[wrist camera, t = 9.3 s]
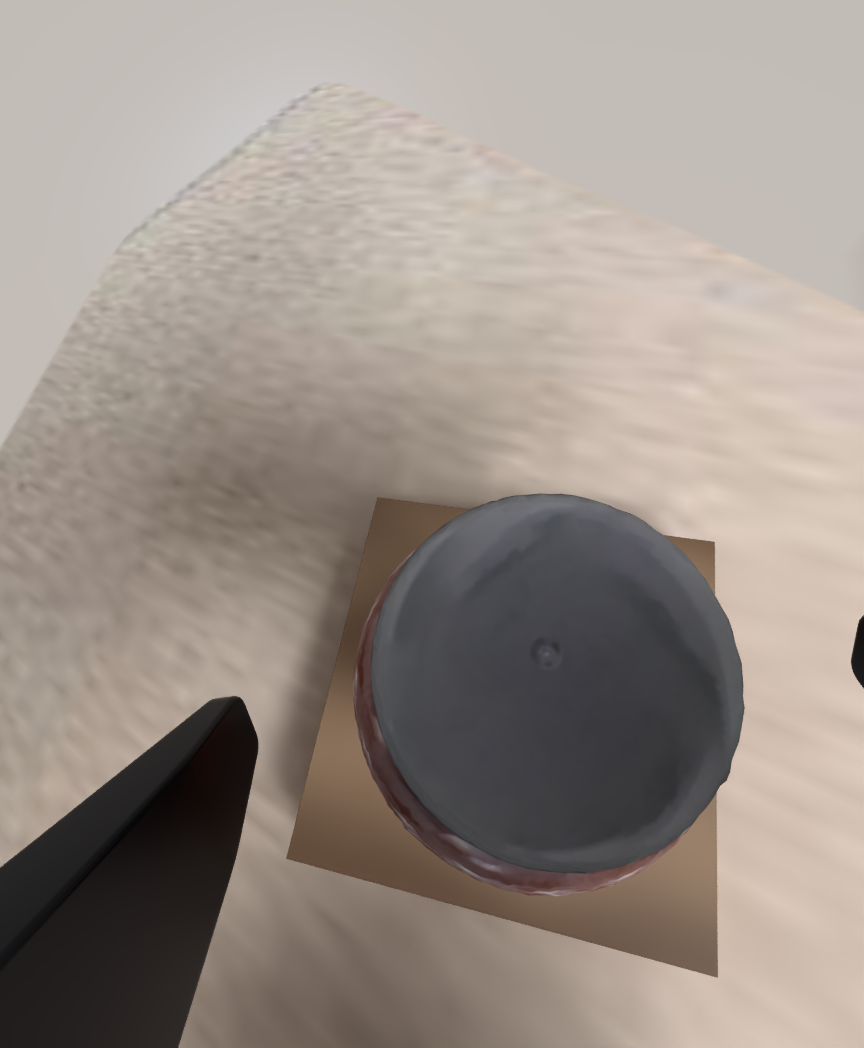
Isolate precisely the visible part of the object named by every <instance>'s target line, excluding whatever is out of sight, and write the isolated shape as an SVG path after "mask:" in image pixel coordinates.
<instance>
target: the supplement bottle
mask: <svg viewBox="0 0 864 1048" xmlns="http://www.w3.org/2000/svg"><path fill="white" fill-rule="evenodd" d="M353 700H354V712H355V719H356V722H357V727H358V734H359V739H360V741H361V746H362V751H363V754H364V757H365V759H366V762H367V766H368V767H369V769H370V772H371V775H372V778H373V780H374V781H375V782H376V784H377V786H378V787H379V789H380V792H381V793H382V795H383V797H384V798H385V800H386V802H387V805H388V807H389V808H390V809H391V810H392V811H393V812H394V814H395V815H396V816H397V817H398V818H399V819H400V821H401V822H402V824H403V826H404V828H405V829H406V830H407V831H408V832H409V833H411V834H412V835H413V836H414V837H415V838H416V839H418V840H419V841H420V842H421V843H422V844H423V845H424V846H425V847H426V848H427V849H429V850H430V851H432V852H433V853H434V854H435V855H437V856H438V857H439V858H440V859H442V860H443V861H445V862H446V863H447V864H449V865H450V866H452V867H454V868H456V869H457V870H459V871H461V872H463V873H465V874H467V875H469V876H470V877H472V878H474V879H476V880H478V881H480V882H483V883H487V884H490V885H492V886H494V887H497V888H499V889H503V890H506V891H510V892H519V893H522V894H526V895H529V896H531V895H539V896H543V895H548V896H563V895H568V894H572V893H583V892H589V891H594V890H597V889H601V888H604V887H608V886H614V885H615V884H617V883H618V882H619V881H621V880H623V879H626V878H630V877H633V876H635V875H636V874H638V873H640V872H641V871H643V870H644V869H645V868H647V867H648V866H649V865H650V864H652V863H653V862H654V861H656V860H657V859H658V858H660V857H661V856H663V855H664V854H665V853H666V852H667V851H668V850H670V849H671V848H672V847H673V846H674V845H676V844H677V842H678V841H679V840H680V838H681V837H682V836H683V835H684V834H685V833H687V832H688V830H689V829H690V827H691V826H692V825H693V823H694V822H695V821H696V819H697V818H698V817H699V816H700V814H701V813H702V812H703V811H704V810H705V809H706V807H707V806H708V805H709V803H710V802H711V801H712V799H713V798H714V796H715V794H716V792H717V790H718V789H719V787H720V785H722V784H723V783H724V782H725V781H726V780H727V778H728V775H729V773H730V769H731V761H732V758H733V755H734V753H735V750H736V748H737V745H738V743H739V738H740V732H741V727H742V721H743V715H744V709H745V708H744V701H743V676H742V663H741V660H740V657H739V654H738V650H737V647H736V644H735V640H734V636H733V631H732V628H731V625H730V622H729V619H728V618H727V616H726V614H725V612H724V611H723V609H722V607H721V605H720V604H719V602H718V600H717V598H716V597H715V595H714V593H713V591H712V589H711V587H710V586H709V584H708V582H707V580H706V579H705V578H704V577H703V575H702V574H701V573H700V572H699V571H698V569H697V568H696V566H695V565H694V564H693V563H692V562H691V560H690V559H689V558H688V557H687V555H686V554H685V553H683V552H682V551H681V550H680V549H678V548H677V547H676V546H675V545H674V544H673V543H672V542H671V541H670V540H669V539H668V538H667V537H665V536H664V535H662V534H661V533H659V532H657V531H656V530H654V529H653V528H652V527H651V526H649V525H648V524H647V523H646V522H644V521H643V520H641V519H639V518H637V517H636V516H634V515H632V514H630V513H626V512H623V511H620V510H617V509H615V508H613V507H611V506H609V505H606V504H603V503H600V502H597V501H594V500H590V499H587V498H583V497H578V496H573V495H565V494H532V495H518V496H511V497H506V498H502V499H500V500H498V501H491V502H489V503H486V504H483V505H481V506H478V507H476V508H473V509H470V510H468V511H467V512H465V513H463V514H461V515H459V516H457V517H455V518H454V519H452V520H450V521H449V522H447V523H446V524H444V525H443V526H441V527H440V528H439V529H438V530H437V531H435V532H434V533H433V534H432V535H431V536H429V537H428V538H427V539H426V540H425V541H424V542H423V543H422V544H421V545H420V546H419V547H417V548H416V549H415V550H414V551H413V552H412V553H411V554H409V555H408V556H407V557H406V558H405V559H404V560H403V562H402V563H401V564H400V565H399V566H398V567H397V568H396V569H395V570H394V572H393V573H392V574H391V575H390V577H389V578H388V580H387V581H386V583H385V584H384V585H383V587H382V589H381V591H380V592H379V594H378V596H377V598H376V599H375V601H374V603H373V605H372V608H371V610H370V613H369V614H368V617H367V620H366V622H365V624H364V626H363V630H362V633H361V637H360V641H359V645H358V650H357V655H356V660H355V668H354V680H353Z"/></svg>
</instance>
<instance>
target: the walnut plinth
mask: <svg viewBox="0 0 864 1048" xmlns="http://www.w3.org/2000/svg"><path fill="white" fill-rule="evenodd" d="M467 511H468V509H461V508H453V507H446V506H438V505H430V504H423V503H415V502H408V501H400V500H392V499H385V498H377V502H376V506H375V510H374V514H373V517H372V521H371V525H370V529H369V533H368V537H367V541H366V545H365V549H364V553H363V557H362V561H361V565H360V569H359V573H358V577H357V581H356V585H355V589H354V593H353V597H352V601H351V605H350V609H349V613H348V617H347V621H346V624H345V628H344V632H343V636H342V640H341V644H340V648H339V652H338V656H337V660H336V664H335V668H334V672H333V676H332V680H331V684H330V688H329V692H328V696H327V700H326V704H325V708H324V712H323V716H322V720H321V724H320V728H319V731H318V735H317V739H316V743H315V747H314V751H313V755H312V759H311V763H310V767H309V771H308V775H307V779H306V783H305V787H304V791H303V795H302V799H301V803H300V807H299V811H298V815H297V819H296V823H295V827H294V831H293V835H292V838H291V842H290V846H289V850H288V854H287V858H286V859H290V860H294V861H297V862H301V863H304V864H308V865H312V866H315V867H319V868H323V869H326V870H330V871H333V872H337V873H341V874H344V875H348V876H352V877H355V878H359V879H362V880H366V881H370V882H373V883H377V884H381V885H384V886H388V887H391V888H395V889H399V890H402V891H406V892H410V893H413V894H417V895H420V896H424V897H428V898H431V899H435V900H438V901H442V902H446V903H449V904H453V905H457V906H460V907H464V908H467V909H471V910H475V911H478V912H482V913H486V914H489V915H493V916H496V917H500V918H504V919H507V920H511V921H515V922H518V923H522V924H525V925H529V926H533V927H536V928H540V929H544V930H547V931H551V932H554V933H558V934H562V935H565V936H569V937H572V938H576V939H580V940H583V941H587V942H591V943H594V944H598V945H601V946H605V947H609V948H612V949H616V950H620V951H623V952H627V953H630V954H634V955H638V956H641V957H645V958H649V959H652V960H656V961H659V962H663V963H667V964H670V965H674V966H678V967H681V968H685V969H688V970H692V971H696V972H699V973H703V974H706V975H710V976H714V977H717V978H718V960H717V815H716V794H715V796H714V798H713V799H712V801H711V802H710V803H709V805H708V806H707V807H706V809H705V810H704V811H703V812H702V813H701V814H700V816H699V817H698V818H697V819H696V821H695V822H694V823H693V825H692V826H691V827H690V829H689V830H688V832H687V833H685V834H684V835H683V836H682V837H681V838H680V840H679V841H678V842H677V844H676V845H674V846H673V847H672V848H671V849H670V850H668V851H667V852H666V853H665V854H664V855H663V856H661V857H660V858H658V859H657V860H656V861H654V862H653V863H652V864H650V865H649V866H648V867H647V868H645V869H644V870H643V871H641V872H640V873H638V874H636V875H635V876H633V877H630V878H626V879H623V880H621V881H619V882H618V883H617V884H615V885H614V886H608V887H604V888H601V889H597V890H594V891H589V892H583V893H572V894H568V895H563V896H548V895H543V896H539V895H531V896H529V895H526V894H522V893H519V892H510V891H506V890H503V889H499V888H497V887H494V886H492V885H490V884H487V883H483V882H480V881H478V880H476V879H474V878H472V877H470V876H469V875H467V874H465V873H463V872H461V871H459V870H457V869H456V868H454V867H452V866H450V865H449V864H447V863H446V862H445V861H443V860H442V859H440V858H439V857H438V856H437V855H435V854H434V853H433V852H432V851H430V850H429V849H427V848H426V847H425V846H424V845H423V844H422V843H421V842H420V841H419V840H418V839H416V838H415V837H414V836H413V835H412V834H411V833H409V832H408V831H407V830H406V829H405V828H404V826H403V824H402V822H401V821H400V819H399V818H398V817H397V816H396V815H395V814H394V812H393V811H392V810H391V809H390V808H389V807H388V805H387V802H386V800H385V798H384V797H383V795H382V793H381V792H380V789H379V787H378V786H377V784H376V782H375V781H374V780H373V778H372V775H371V772H370V769H369V767H368V766H367V762H366V759H365V757H364V754H363V751H362V746H361V741H360V739H359V734H358V727H357V722H356V719H355V712H354V700H353V680H354V668H355V660H356V655H357V650H358V645H359V641H360V637H361V633H362V630H363V626H364V624H365V622H366V620H367V617H368V614H369V613H370V610H371V608H372V605H373V603H374V601H375V599H376V598H377V596H378V594H379V592H380V591H381V589H382V587H383V585H384V584H385V583H386V581H387V580H388V578H389V577H390V575H391V574H392V573H393V572H394V570H395V569H396V568H397V567H398V566H399V565H400V564H401V563H402V562H403V560H404V559H405V558H406V557H407V556H408V555H409V554H411V553H412V552H413V551H414V550H415V549H416V548H417V547H419V546H420V545H421V544H422V543H423V542H424V541H425V540H426V539H427V538H428V537H429V536H431V535H432V534H433V533H434V532H435V531H437V530H438V529H439V528H440V527H441V526H443V525H444V524H446V523H447V522H449V521H450V520H452V519H454V518H455V517H457V516H459V515H461V514H463V513H465V512H467ZM664 536H665V537H667V538H668V539H669V540H670V541H671V542H672V543H673V544H674V545H675V546H676V547H677V548H678V549H680V550H681V551H682V552H683V553H685V554H686V555H687V557H688V558H689V559H690V560H691V562H692V563H693V564H694V565H695V566H696V568H697V569H698V571H699V572H700V573H701V574H702V575H703V577H704V578H705V579H706V580H707V582H708V584H709V586H710V587H711V589H712V591H713V593H714V595H715V542H711V541H704V540H696V539H689V538H681V537H673V536H666V535H664Z"/></svg>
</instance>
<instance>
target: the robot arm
mask: <svg viewBox="0 0 864 1048" xmlns="http://www.w3.org/2000/svg"><path fill="white" fill-rule="evenodd" d="M851 666H852V670H853V673H854V675H855V677H856V678H857V680H858V681H859V683H860V684H861V685H862V687H863V688H864V615H863V616H862V618H861V619H860V620H859V623H858V627H857V632H856V637H855V642H854V647H853V652H852V658H851ZM257 755H258V737H257V734H256V731H255V729H254V726H253V724H252V721H251V719H250V716H249V714H248V711H247V708H246V706H245V704H244V702H243V700H242V699H241V698H240V697H237V696H231V697H223V698H216V699H212V700H210V701H209V702H207V703H206V704H205V705H204V706H202V707H201V708H200V709H199V710H197V711H196V712H195V713H194V714H192V715H191V716H190V717H189V718H187V719H186V720H185V721H184V722H182V723H181V724H180V725H179V726H177V727H176V728H175V729H174V730H172V731H171V732H170V733H169V734H167V735H166V736H165V737H164V738H162V739H161V740H160V741H158V742H157V743H156V744H155V745H153V746H152V747H151V748H150V749H148V750H147V751H146V752H145V753H143V754H142V755H141V756H140V757H138V758H137V759H136V760H135V761H133V762H132V763H131V764H130V765H128V766H127V767H126V768H125V769H123V770H122V771H121V772H120V773H118V774H117V775H116V776H115V777H113V778H112V779H111V780H110V781H108V782H107V783H106V784H105V785H103V786H102V787H101V788H100V789H98V790H97V791H96V792H95V793H93V794H92V795H91V796H89V797H88V798H87V799H86V800H84V801H83V802H82V803H81V804H79V805H78V806H77V807H76V808H74V809H73V810H72V811H71V812H69V813H68V814H67V815H66V816H64V817H63V818H62V819H61V820H59V821H58V822H57V823H56V824H54V825H53V826H52V827H51V828H49V829H48V830H47V831H46V832H44V833H43V834H42V835H41V836H39V837H38V838H37V839H36V840H34V841H33V842H32V843H31V844H29V845H28V846H27V847H25V848H24V849H23V850H22V851H20V852H19V853H18V854H17V855H15V856H14V857H13V858H12V859H10V860H9V861H8V862H7V863H5V864H4V865H3V866H2V867H0V1048H178V1047H179V1043H180V1040H181V1037H182V1033H183V1030H184V1027H185V1024H186V1020H187V1017H188V1014H189V1011H190V1007H191V1004H192V1001H193V998H194V994H195V991H196V988H197V985H198V981H199V978H200V975H201V971H202V968H203V965H204V962H205V958H206V955H207V952H208V949H209V945H210V942H211V939H212V936H213V932H214V929H215V926H216V923H217V919H218V916H219V913H220V909H221V906H222V903H223V900H224V896H225V893H226V890H227V887H228V883H229V880H230V877H231V873H232V870H233V866H234V863H235V859H236V855H237V851H238V847H239V842H240V838H241V833H242V828H243V823H244V818H245V813H246V808H247V803H248V799H249V794H250V789H251V784H252V779H253V774H254V769H255V764H256V759H257Z"/></svg>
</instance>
